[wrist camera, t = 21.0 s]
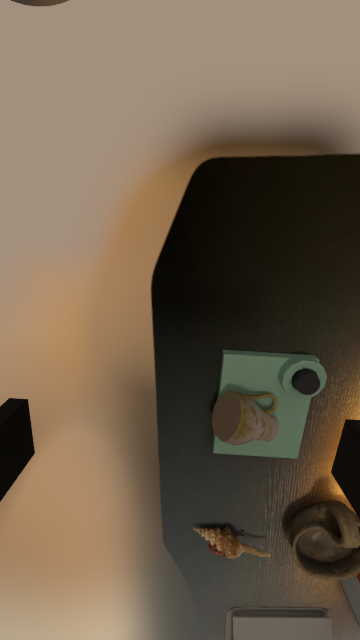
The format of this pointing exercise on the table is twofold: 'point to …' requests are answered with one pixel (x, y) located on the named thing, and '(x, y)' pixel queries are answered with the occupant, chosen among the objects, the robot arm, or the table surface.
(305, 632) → the book
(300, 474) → the table surface
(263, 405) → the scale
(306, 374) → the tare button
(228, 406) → the mug
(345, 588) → the alarm clock
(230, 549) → the spiral seashell
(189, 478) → the table surface
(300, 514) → the bowl
